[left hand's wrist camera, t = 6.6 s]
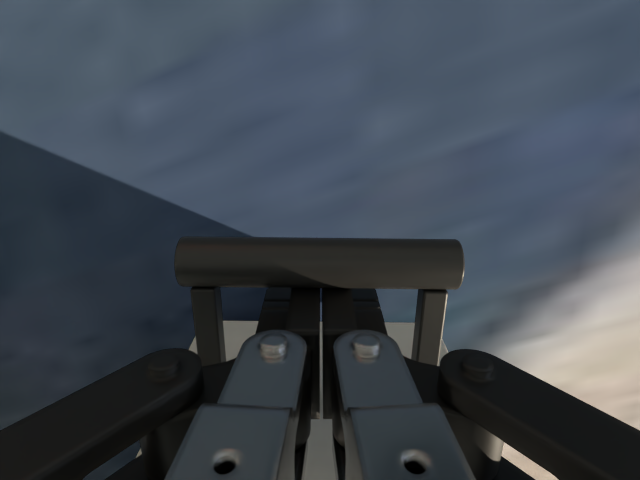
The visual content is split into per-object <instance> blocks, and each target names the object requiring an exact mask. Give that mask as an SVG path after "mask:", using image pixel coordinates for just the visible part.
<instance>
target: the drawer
mask: <svg viewBox="0 0 640 480" xmlns="http://www.w3.org/2000/svg"><path fill="white" fill-rule="evenodd" d="M174 265H175V275H176V279H177V282H178V284H179V285H180V286H183V287H192V288H191V300H192V309H193V318H194V327H195V338H194V340H193V342H192V344H191V346H190V348H189V350H190V351H193V352H195V353H196V354H197V355H198V356H199V357H200V358H201V361H202V367H203V366H208V365H213V364H217V363H222V362H226V361H229V360H232V359H234V358H236V357H237V355H238V353H239V350H240V348H241V346H242V344H243V343H244V342H245V340H246V339H248V338H249V337H251V336H252V335H254V334H255V333H256V329H257V325H258V321H223V316H222V303H221V291H220V287H275V288H368V289H418V297H417V307H416V317H415V323H392V322H384V323H385V326H386V330H387V334H388V336H389V337H391V338H392V339H394V340H395V341H396V343H397V344H398V346H399V348H400V350H401V353H402V355H403V356H405V357H407V358H409V359H412V360H415V361H418V362H422V363H426V364H431V365H436V366H440V361H441V358H442V357H443V356H444V355H445V354H447V353H448V351H447V349H446V347H445V344H444V342H443V340H442V334H443V326H444V319H445V311H446V304H447V296H448V292H447V290H446V289H458V288H459V287H460V286H461V284H462V281H463V277H464V268H465V262H464V253H463V249H462V246H461V244H460V242H459V241H458V240H455V239H371V238H279V237H188V236H185V237H182V238H180V240H179V242H178V244H177V247H176V252H175V262H174ZM141 454H142V452H141V448H140V450H139V452H138V454H137V456H136V458H137V457H138V456H140V455H141ZM304 480H336V476H335V468H334V460H333V452H332V419H323V365H322V322H320V419H311V431H310V435H309V438H308V453H307V461H306V469H305V477H304Z"/></svg>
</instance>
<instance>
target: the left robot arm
mask: <svg viewBox="0 0 640 480" xmlns="http://www.w3.org/2000/svg"><path fill="white" fill-rule="evenodd" d="M322 365H323V419H332V452H333V460H334V468H335V476H336V480H535V479H534V478H532V477H531V476H529V475H528V474H526V473H525V472H523V471H522V470H521V469H519V468H518V467H516V466H515V465H513V464H512V463H511V462H509V461H508V460H506V459H505V458H503V457H502V456H501V454H502V449H503V443H504V442H505V443H507V444H508V445H510V446H511V447H513V448H514V449H516V450H517V451H519V452H520V453H522V454H523V455H525V456H526V457H528V458H529V459H531V460H532V461H534V462H535V463H537V464H538V465H540V466H541V467H543V468H544V469H546V470H547V471H549V472H550V473H552V474H553V475H554V476H555V477H557V478H558V479H559V480H640V431H639V430H637V429H636V428H634V427H632V426H630V425H628V424H626V423H624V422H622V421H620V420H618V419H616V418H614V417H612V416H610V415H608V414H606V413H604V412H602V411H601V410H599V409H597V408H595V407H593V406H591V405H589V404H587V403H585V402H583V401H581V400H579V399H577V398H575V397H573V396H571V395H569V394H568V393H566V392H564V391H562V390H560V389H558V388H556V387H554V386H552V385H550V384H548V383H546V382H544V381H542V380H540V379H538V378H536V377H534V376H533V375H531V374H529V373H527V372H525V371H523V370H521V369H519V368H517V367H515V366H513V365H511V364H509V363H507V362H505V361H503V360H501V359H500V358H498V357H496V356H493V355H491V354H488V353H486V352H482V351H478V350H471V349H460V350H454V351H451V352H449V353H447V354H445V355H444V356H443V357H442V358H441V361H440V366H436V365H431V364H426V363H422V362H418V361H415V360H412V359H409V358H407V357H405V356H403V355H402V353H401V350H400V348H399V346H398V344H397V343H396V341H395V340H394V339H392V338H391V337H389V336H388V334H387V330H386V326H385V323H384V319H383V315H382V311H381V309H380V304H379V302H378V297H377V293H376V290H375V289H368V288H322ZM311 419H320V288H275V287H269V288H268V289H267V291H266V294H265V298H264V302H263V306H262V310H261V314H260V318H259V321H258V325H257V329H256V333H255V334H254V335H252V336H251V337H249V338H248V339H246V340H245V342H244V343H243V344H242V346H241V348H240V350H239V353H238V355H237V357H236V358H234V359H232V360H229V361H226V362H222V363H217V364H213V365H208V366H203V367H202V361H201V358H200V357H199V356H198V355H197V354H196V353H195V352H193V351H190V350H187V349H181V348H173V349H165V350H160V351H156V352H154V353H151V354H149V355H146V356H144V357H142V358H140V359H139V360H137V361H135V362H133V363H131V364H129V365H127V366H125V367H123V368H121V369H119V370H117V371H115V372H113V373H111V374H109V375H107V376H106V377H104V378H102V379H100V380H98V381H96V382H94V383H92V384H90V385H88V386H86V387H84V388H82V389H80V390H78V391H76V392H74V393H72V394H71V395H69V396H67V397H65V398H63V399H61V400H59V401H57V402H55V403H53V404H51V405H49V406H47V407H45V408H43V409H41V410H39V411H38V412H36V413H34V414H32V415H30V416H28V417H26V418H24V419H22V420H20V421H18V422H16V423H14V424H12V425H10V426H8V427H6V428H5V429H3V430H1V431H0V480H82V479H83V478H84V477H85V476H86V475H87V474H89V473H90V472H91V471H93V470H94V469H96V468H97V467H99V466H100V465H102V464H103V463H105V462H106V461H108V460H109V459H111V458H112V457H114V456H115V455H117V454H118V453H120V452H121V451H123V450H124V449H126V448H127V447H129V446H130V445H132V444H133V443H135V442H136V441H138V440H139V442H140V447H141V452H142V454H141V455H140V456H138V457H137V458H135V459H134V460H132V461H131V462H129V463H128V464H127V465H125V466H124V467H122V468H121V469H119V470H118V471H117V472H115V473H114V474H112V475H111V476H109V477H108V478H106V479H105V480H304V477H305V469H306V461H307V453H308V438H309V435H310V431H311Z"/></svg>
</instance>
